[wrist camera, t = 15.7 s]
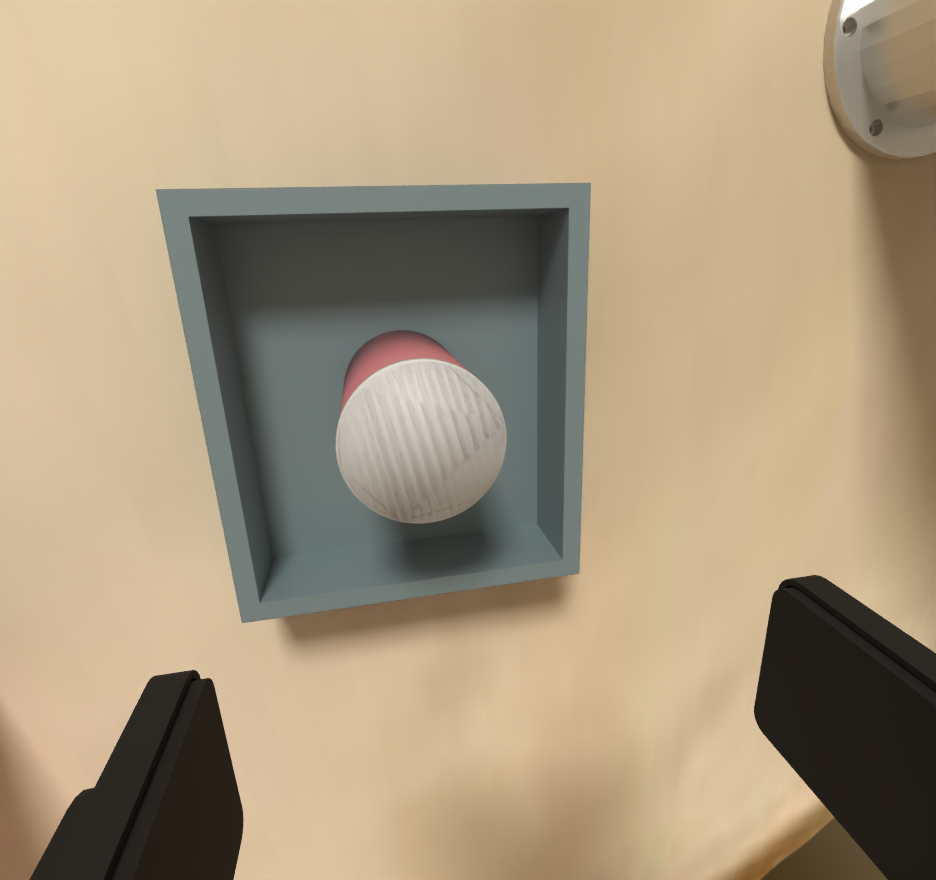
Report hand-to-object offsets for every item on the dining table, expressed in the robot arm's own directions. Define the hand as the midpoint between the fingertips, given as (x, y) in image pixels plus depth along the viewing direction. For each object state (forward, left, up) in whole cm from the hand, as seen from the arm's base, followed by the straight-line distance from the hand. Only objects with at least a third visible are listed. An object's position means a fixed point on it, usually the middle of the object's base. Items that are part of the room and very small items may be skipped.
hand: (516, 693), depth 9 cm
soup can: (0, 0, -23) cm, 23 cm away
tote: (0, 0, -24) cm, 24 cm away
